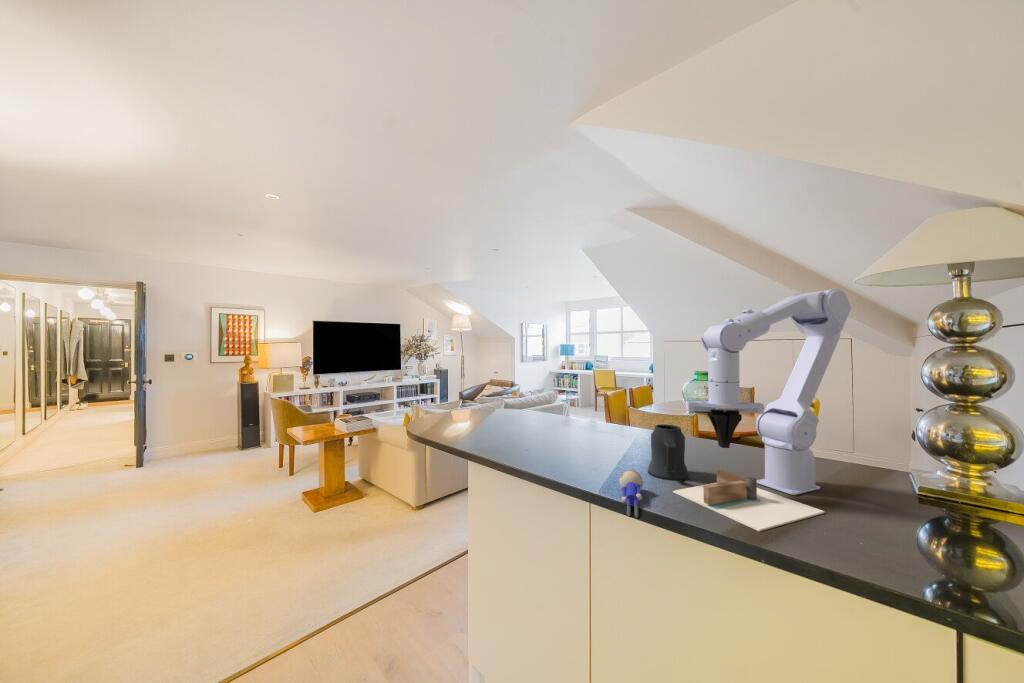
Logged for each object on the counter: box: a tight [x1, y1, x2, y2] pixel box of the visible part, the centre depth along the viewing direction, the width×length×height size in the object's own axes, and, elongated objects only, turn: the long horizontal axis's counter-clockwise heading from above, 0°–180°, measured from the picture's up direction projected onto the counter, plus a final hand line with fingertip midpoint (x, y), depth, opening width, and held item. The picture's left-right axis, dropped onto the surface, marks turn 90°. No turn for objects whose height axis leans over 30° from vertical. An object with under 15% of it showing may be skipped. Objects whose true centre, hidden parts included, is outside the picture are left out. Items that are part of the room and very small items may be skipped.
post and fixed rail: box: [716, 468, 758, 500], centre depth 77 cm, size 2×8×4 cm, turn 23°
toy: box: [619, 469, 644, 519], centre depth 73 cm, size 5×5×15 cm
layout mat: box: [672, 481, 826, 532], centre depth 73 cm, size 18×18×1 cm
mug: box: [647, 423, 689, 482], centre depth 88 cm, size 12×9×11 cm
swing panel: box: [703, 480, 746, 505], centre depth 72 cm, size 9×1×3 cm, turn 107°
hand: (723, 446), depth 78 cm, fingers closed
